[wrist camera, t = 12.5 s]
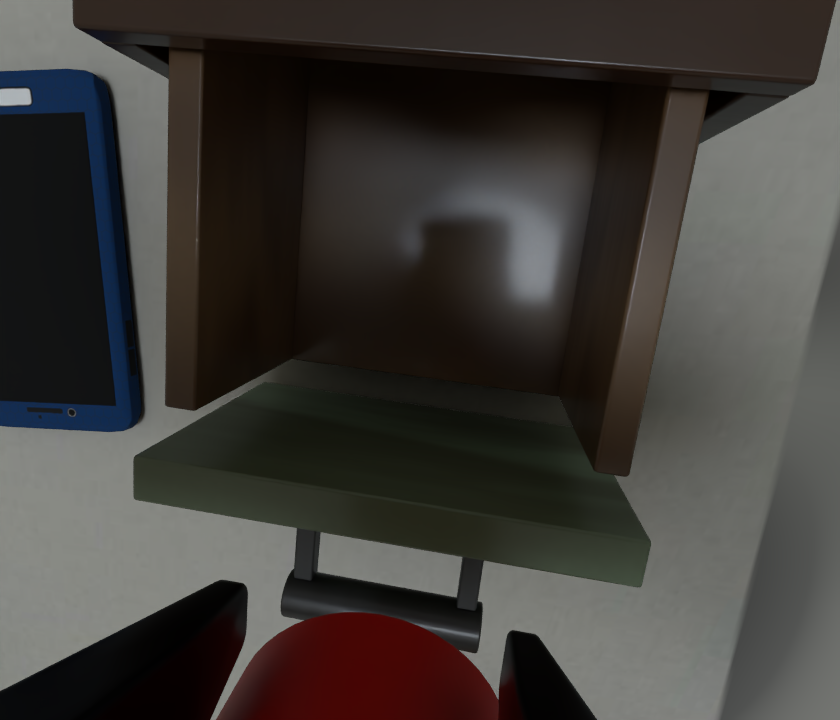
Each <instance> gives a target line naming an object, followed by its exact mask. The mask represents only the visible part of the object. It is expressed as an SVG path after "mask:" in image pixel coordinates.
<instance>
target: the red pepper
mask: <svg viewBox="0 0 840 720" xmlns="http://www.w3.org/2000/svg"><path fill="white" fill-rule="evenodd" d="M498 710H499V701H498V699H497V697H496V695H495V693H494V691H493V690H492V688H491V686H490V684H489V683H488V682H487V680H486V679H485V678H484V676H483V675H482V673H481V672H480V671H479V670H478V669H477V667H476V666H475V665H474V664H473V663H472V662H471V661H470V660H469V659H468V658H467V657H466V656H465V655H464V654H462V653H461V652H460V651H459V650H458V649H456V648H455V647H454V646H453V645H452V644H450V643H448V642H447V641H445V640H444V639H442V638H441V637H439V636H438V635H436V634H434V633H432V632H430V631H428V630H426V629H424V628H422V627H420V626H418V625H415V624H413V623H410V622H407V621H405V620H402V619H398V618H394V617H390V616H386V615H382V614H374V613H366V612H341V613H333V614H326V615H322V616H318V617H313V618H310V619H307V620H305V621H302V622H300V623H297V624H294V625H293V626H291V627H289V628H287V629H286V630H284V631H282V632H280V633H279V634H277V635H276V636H275V637H273V638H272V639H271V640H270V641H268V642H267V643H266V644H265V645H264V646H263V647H262V648H261V649H260V650H259V651H258V652H257V653H256V654H255V655H254V657H253V658H252V660H251V661H250V663H249V664H248V666H247V667H246V669H245V671H244V672H243V674H242V676H241V678H240V679H239V681H238V683H237V684H236V686H235V688H234V690H233V691H232V693H231V695H230V697H229V698H228V700H227V702H226V703H225V705H224V707H223V709H222V710H221V712H220V714H219V716H218V717H217V719H216V720H498Z"/></svg>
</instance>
